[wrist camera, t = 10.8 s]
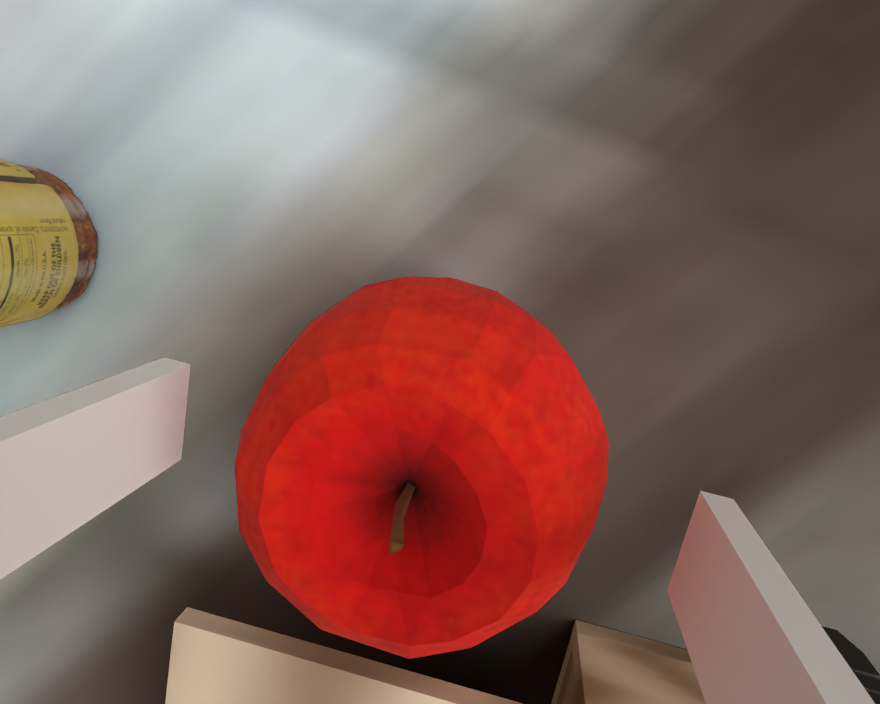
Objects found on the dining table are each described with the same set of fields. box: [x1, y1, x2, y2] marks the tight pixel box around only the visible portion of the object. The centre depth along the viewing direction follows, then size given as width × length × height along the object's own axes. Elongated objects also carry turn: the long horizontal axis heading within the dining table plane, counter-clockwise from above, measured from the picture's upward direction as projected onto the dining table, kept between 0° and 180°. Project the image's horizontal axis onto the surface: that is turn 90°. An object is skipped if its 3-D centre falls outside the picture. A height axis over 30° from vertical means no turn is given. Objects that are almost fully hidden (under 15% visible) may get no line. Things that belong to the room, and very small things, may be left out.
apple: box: [235, 276, 609, 659], centre depth 18 cm, size 10×10×12 cm
